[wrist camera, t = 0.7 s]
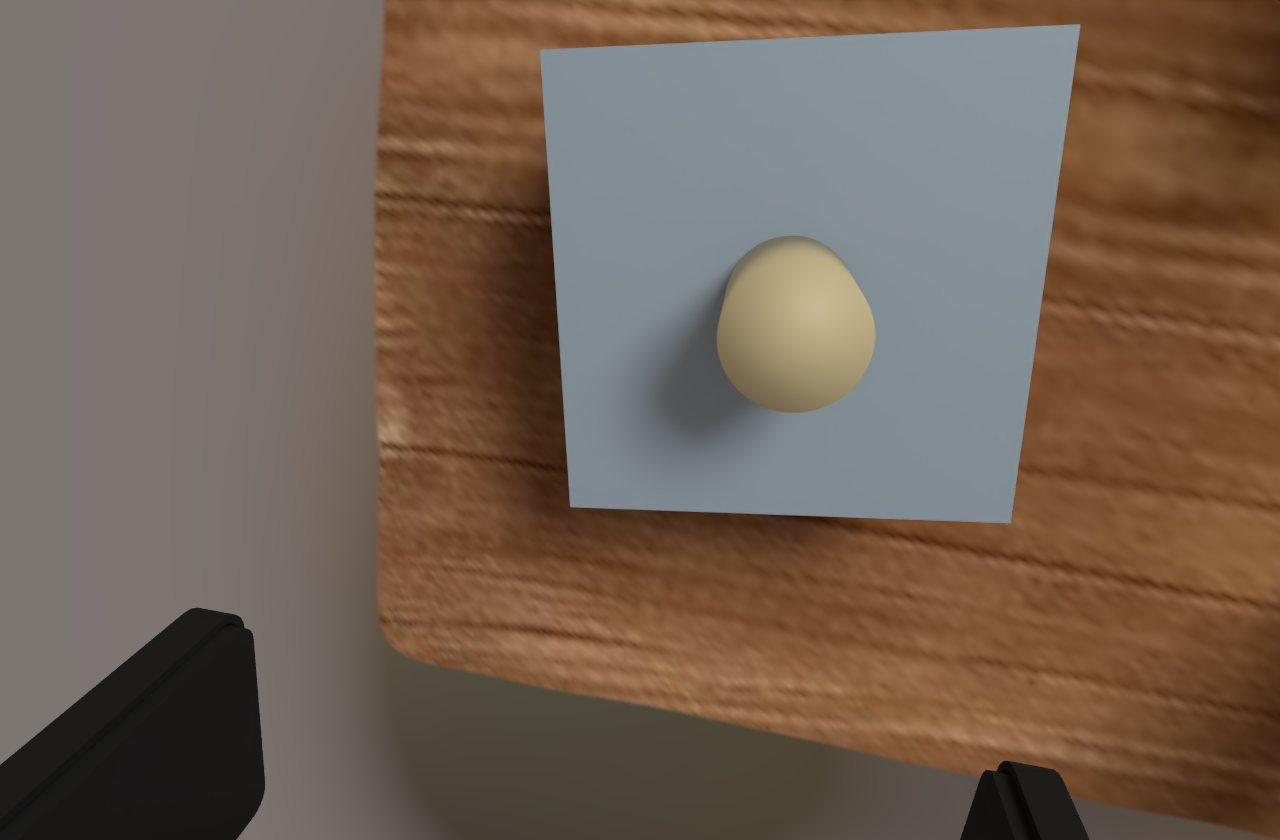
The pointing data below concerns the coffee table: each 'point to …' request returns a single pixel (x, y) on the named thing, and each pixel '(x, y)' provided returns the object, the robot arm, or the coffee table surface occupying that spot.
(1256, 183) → the coffee table surface
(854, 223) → the lid
